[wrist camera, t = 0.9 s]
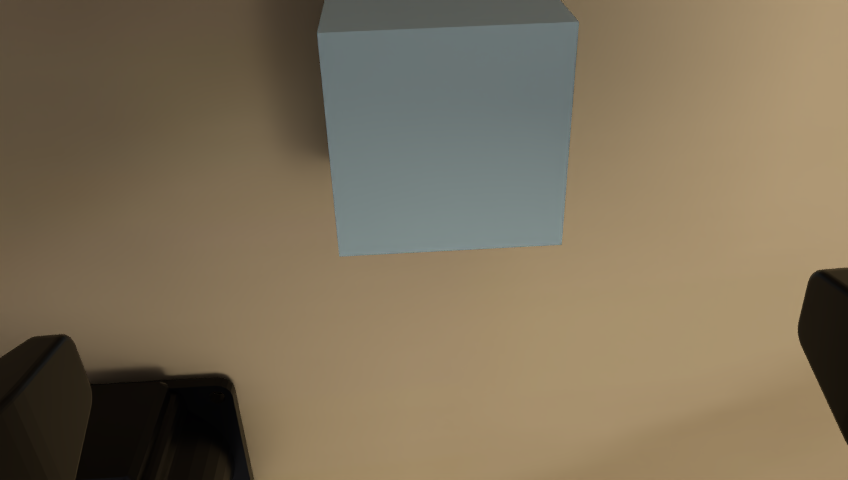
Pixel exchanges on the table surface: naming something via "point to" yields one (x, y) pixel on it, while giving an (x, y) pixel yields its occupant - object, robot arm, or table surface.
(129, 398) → the robot arm
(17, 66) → the table surface
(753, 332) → the table surface
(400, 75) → the cube
